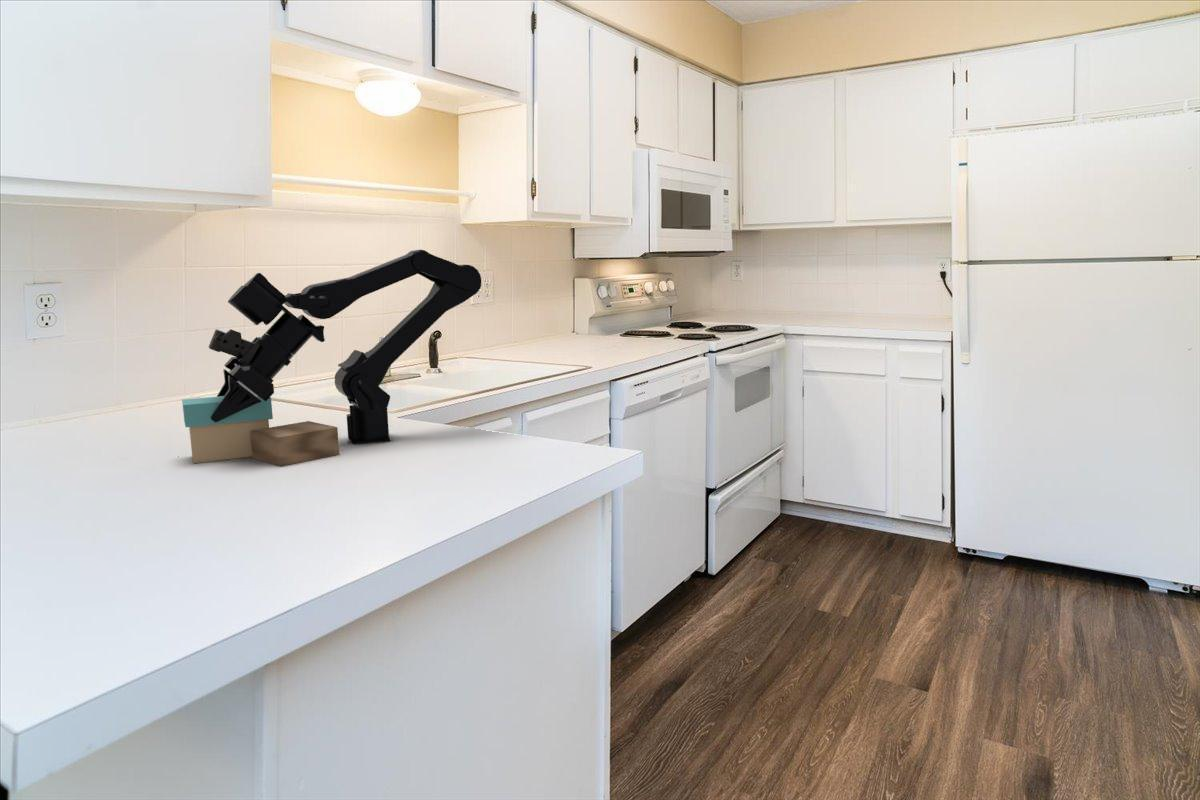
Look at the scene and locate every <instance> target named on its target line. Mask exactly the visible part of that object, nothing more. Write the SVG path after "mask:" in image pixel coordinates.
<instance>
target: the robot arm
mask: <svg viewBox="0 0 1200 800" xmlns="http://www.w3.org/2000/svg"><path fill="white" fill-rule="evenodd" d="M416 275H420V276H421V277H423V278H425V279H427V280H428V281H430V282H433V285H432V287H431V288H430V290H429V292H428V294H427V295H426V297H425V298H424V299H423V300H422V301H421V302H419V303H418V304H417V305H416V307H414V308H413V309H412V310H411V311H410V312H409V313H408V314H407V315H405V317H404V318H403V319H402V320H401V321H400V322H398V323H397V325H395V327H393V329H391V331H389V332H388V333H387V334H386V335H385V336H384V337H383V338H382V339H381V340H380V341H379V342H378V343H377V344H375V346H373V347H372V348H371V349H369V350H368V351H365V352H363V351H360V350H357V349H354V350H353V351H352V352H351V353H350V355H349V356H348V357H347V358H346V359H345V360H343V362H341V363H338V364H337V366H338V367H339V368H338V370H337V371H336V372H335V374H334V385H335V388H336V390H337V391H338V392H339V393H341V395H343V396H344V397H346V399H347V401H348V403H349V404H350V405H349V406H348V407H349V413H348V414H346V425H347V426H346V427H347V429H346V430H347V439H348V440H349V441H350V442H351V445H362V444H372V443H374V442H375V443H384V442H386V441H387V442H391V436H390V431H389V429H390V428H389V415H388V406H389V404H390V403H389V402H390V400H391V395H390V394H389V393H388V392H386V391H385V390H384V389H383V388H381V387H380V385H381V384H382V382H383V381H384V379H385V377H386V375H387V373H388V372H389V369H390V367H391V366H392V365H393V364H394V363H395V361H397V360H398V359H399V358H400V357H401V356H402V355H403V353H405V352H406V351H407V350H408V349H409V348H410V347H411V346H413V344H415V342H416V341H418V339H419V338H421V337H422V335H424V334H425V333H426V332H427V331H428V330H429V329H430V328H431V327H432V326H433V325H434V324H435V323H436V322H437V321H438V320H439V319H440V318H441V317H442V316H443V315H444V314H445V313H446V312H448V311H449V310H452V309H454V308H456V307H457V306H459V305H461V304H463V303H464V302H466V301H467V300H469V299H470V298H472V297H473V296H475V295H476V294H477V293H478V292H479V291H480V290H481V288H482V276H481V273H480V272H479V270H478V269H477V268H476V267H475V266H473V265H470V264H457V263H455V262H453V261H450V260H446V259H444V258H441V257H439V256H437V255H433V254H431V253H429V252H428V251H427V250H424V249H415V250H414V249H413V250H410V251H409V252H408V253H406V254H404V255H401V256H399V257H397V258H394V259H391V260H389V261H386V262H384V263H382V264H379V265H376V266H374V267H372V268H369V269H367V270H364V271H361V272H359V273H356V274H354V275H351V276H348V277H344V278H339V279H334V280H328V281H322V282H317V283H312V284H310V285H309V284H308V285H307V286H306V287H304V288H303V289H302V290H301V291H300V292H299V293H292V292H291V293H287V294H284V293H282V292H281V291H280V290H279V289H278V288H276V286H274V285H273V284H272V283H271V282H269V280H268V279H267V278H266V276H264V275H263V274H262V273H261V272H257V273H255V274H254V275H253V276H252V278H250V279H249V280H248V281H246V283H244V284H243V285H241V286H239V288H237V290H236V291H235V292H234V293H233V294H232V295H231V296H230V297H229V299H228V301H227V303H228V304H229V305H231V306H232V307H233V308H235V310H236V311H238V312H239V313H241V314H242V315H243V316H244V317H245V318H247V319H248V321H251V322H252V324H253V325H255V326H258V325H260V324H261V323H263V324H264V325H265V326H268V325H269V324H270V323H272V322H273V321H274V320H275V319H276V318H277V316H279V315H280V313H281V312H283V313H282V314H281V315H280V317H278V318H277V320H276V321H275V322H273V324H272V325H271V326H270V327H269V328H268V329H267V330H266V331H265V332H264V333H263V334H262V336H261V337H260V336H256V337H255V338H254V339H253V340H252V341H250V340H247V339H244V338H242V332H239V331H236V330H233V329H229V330H228V331H226V332H224V331H222V330H219V329H214V332H213V335H212V337H211V340H210V342H209V344H208V348H209V350H211V351H214V352H217V353H220V352H221V353H224V354H227V355H229V356H231V357H230V358H229V359H228V360H227V362H225V363H224V367H225V368H226V369H228V370H226V369H225V368H223V371H222V372H223V378H224V383H223V385H222V387H221V389H220V390H219V391H218V393H217V395H216V397H219V396H224V397H223V399H222V400H221V402H220V403H219V405H218V407H217V408H216V410H215V411H214V413H213V414H212V416H211V420H213V421H214V422H218V421H220V420H222V419H225V418H227V417H229V416H231V415H233V414H235V413H237V412H239V411H241V410H244V409H246V408H248V407H250V406H252V405H255V404H257V403H260V402H261V400H260V399H259V398H258V396H259V397H260V398H262V399H263V400H264V401H267V400H268V399H269V398H270V397H271V398H272V395H274V394H275V385H274V384H273V382H274V378H275V377H276V376H277V375H278V373H280V371H281V370H282V369H283V368H284V367H285V366H286V367H288V366H289V365H290V364H291V362H292V360H291V359H292V358H293V357H294V356H295V355H296V354H297V353H298V352H299V351H300V350H301V349H302V347H303V346H305V344H306V343H307V342H308V341H309V340H310V339H311V338H312V337H313V339H315V340H316V341H317V342H320V343H324V342H326V340H325V339H326V338H325V334H324V332H325V331H324V330H325V326H323V325H321V324H320V325H316V324H315V323H314V322H312V321H311V320H309V318H308V317H311V318H314V319H319V320H326V319H331V318H333V317H334V316H336V315H337V314H339V313H341V312H342V311H344V310H345V309H347V308H348V307H350V306H351V305H352V304H354V303H355V302H356V301H358V300H359V299H361V298H362V297H364V296H367V295H369V294H372V293H374V292H376V291H379V290H382V289H385V288H387V287H389V286H391V285H393V284H396V283H398V282H401V281H404V280H406V279H408V278H412V277H413V276H416ZM284 305H285V306H286V307H288V308H290V309H291V308H292V309H296V310H302V311H303V313H304V314H305V315H306V316H308V317H306V316H305V315H304V314H300V315H299V316H296V315H295V314H294V313H292V312H291V311H290V310H288V308H286V307H285V306H284Z"/></svg>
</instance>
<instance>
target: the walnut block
mask: <svg viewBox="0 0 1200 800" xmlns="http://www.w3.org/2000/svg"><path fill="white" fill-rule="evenodd" d="M338 431H339V429H338V427H337V426H333V425H329V424H324V423H318V422H314V421H310V420H307V421H301V422H296V423H289V424H283V425H276V426H271V427H270V426H269V428H263V429H257V430H251V431H250V432H251V443H252V454H253V456H252V459H255V460H258V461H261V462H265V463H268V464H271V465H275V466H279V467H283V466H288V465H293V464H299V463H303V462H308V461H312V460H317V459H323V458H327V457H333V456H337V455H340V446H339V445H340V444H339V433H338Z"/></svg>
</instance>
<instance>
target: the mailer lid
mask: <svg viewBox="0 0 1200 800" xmlns="http://www.w3.org/2000/svg"><path fill="white" fill-rule="evenodd" d="M223 397H224V396H219V397H217V396H209V397H196V398H185V399H181V402H182V412H183V421H184V426H185V428H189V427H195V426H205V425H215V424H225V423H236V422H246V421H256V420H267V419H269V420H273V418H274V417H273V406H272V405H273V404H272V396H271V397H270V398H269V399H268V400H267V401H264V400H263V399H262V398H260V397H259V396H258V398H259V399H260V400H261V402H260V403H257V404H255V405H252V406H250V407H248V408H246V409H244V410H241V411H239V412H237V413H235V414H233V415H231V416H229V417H227V418H225V419H222V420H220V421H218V422H214V421H213V420H211V416H212V414H213V413H214V411H215V410H216V408H217V407H218V405H219V403H220V402H221V400H222V399H223Z"/></svg>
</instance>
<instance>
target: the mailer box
mask: <svg viewBox="0 0 1200 800" xmlns="http://www.w3.org/2000/svg"><path fill="white" fill-rule="evenodd" d="M188 428H189V438H190V448H191V457H192V462H193V464H198V463H199V464H200V463H206V462H207V463H208V462H218V461H222V460H223V461H224V460H225V461H226V460H233V459H241V458H250V457H253V454H252V443H251V432H250V431H251V430H257V429H263V428H270V419H267V420H256V421H246V422H236V423H225V424H215V425H205V426H195V427H188Z"/></svg>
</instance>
